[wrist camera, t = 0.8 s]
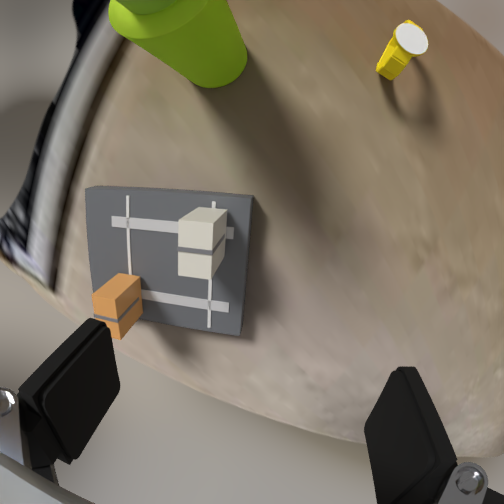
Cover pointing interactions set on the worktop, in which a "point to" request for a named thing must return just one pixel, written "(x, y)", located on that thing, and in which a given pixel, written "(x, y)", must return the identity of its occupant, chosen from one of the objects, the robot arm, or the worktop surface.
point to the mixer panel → (169, 253)
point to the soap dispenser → (185, 36)
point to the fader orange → (119, 303)
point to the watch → (402, 49)
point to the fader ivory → (201, 242)
